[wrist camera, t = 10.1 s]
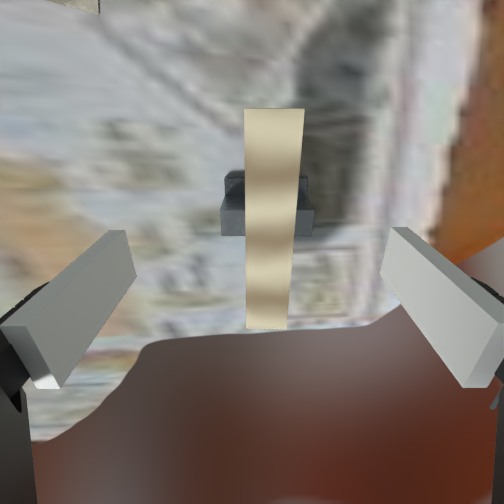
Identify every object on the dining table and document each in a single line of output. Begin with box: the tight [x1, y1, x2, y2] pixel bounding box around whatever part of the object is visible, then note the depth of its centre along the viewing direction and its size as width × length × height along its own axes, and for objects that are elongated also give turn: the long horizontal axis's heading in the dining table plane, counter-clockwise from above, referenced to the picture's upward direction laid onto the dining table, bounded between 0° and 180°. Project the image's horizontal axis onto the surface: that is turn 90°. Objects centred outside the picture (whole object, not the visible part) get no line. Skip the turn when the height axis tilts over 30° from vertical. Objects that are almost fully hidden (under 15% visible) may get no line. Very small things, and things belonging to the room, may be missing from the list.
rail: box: [220, 177, 315, 236], centre depth 32 cm, size 10×7×6 cm
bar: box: [244, 108, 305, 329], centre depth 27 cm, size 22×4×4 cm, turn 0°
